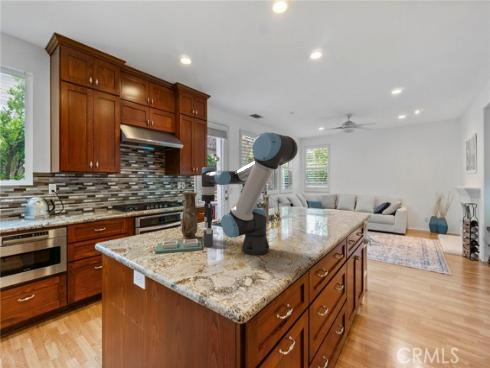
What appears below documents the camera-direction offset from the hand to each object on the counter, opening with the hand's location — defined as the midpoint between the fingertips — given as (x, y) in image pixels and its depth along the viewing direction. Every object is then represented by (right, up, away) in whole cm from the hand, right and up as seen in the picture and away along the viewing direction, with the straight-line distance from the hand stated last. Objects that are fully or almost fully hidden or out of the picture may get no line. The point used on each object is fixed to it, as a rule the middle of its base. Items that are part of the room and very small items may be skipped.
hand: (207, 230), depth 134 cm
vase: (-15, -8, +17) cm, 24 cm away
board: (-15, -9, -4) cm, 18 cm away
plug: (0, -9, 0) cm, 9 cm away
